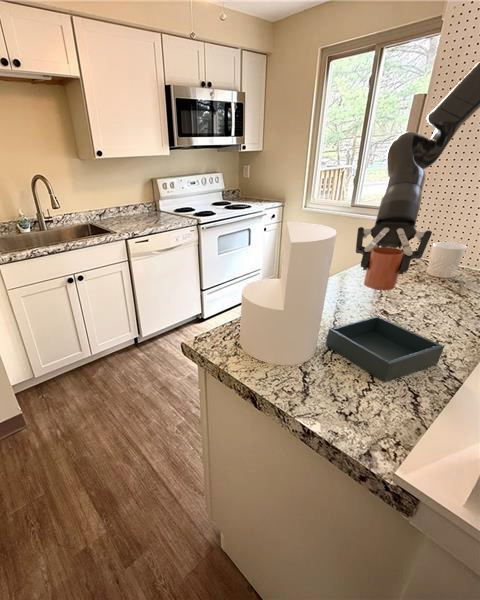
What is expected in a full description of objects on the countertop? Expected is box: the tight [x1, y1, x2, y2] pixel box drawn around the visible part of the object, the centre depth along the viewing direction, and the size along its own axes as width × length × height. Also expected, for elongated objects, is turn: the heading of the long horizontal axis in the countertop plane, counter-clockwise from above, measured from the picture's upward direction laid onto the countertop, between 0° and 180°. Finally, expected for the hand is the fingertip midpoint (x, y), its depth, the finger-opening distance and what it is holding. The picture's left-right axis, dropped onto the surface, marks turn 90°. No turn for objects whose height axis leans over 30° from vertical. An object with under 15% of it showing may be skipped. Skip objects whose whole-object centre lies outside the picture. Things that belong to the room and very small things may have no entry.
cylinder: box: [239, 221, 338, 366], centre depth 70 cm, size 17×17×28 cm
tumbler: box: [363, 246, 405, 291], centre depth 72 cm, size 6×6×8 cm
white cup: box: [426, 241, 468, 279], centre depth 101 cm, size 8×8×10 cm
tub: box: [325, 315, 445, 383], centre depth 68 cm, size 14×14×5 cm
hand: (382, 270), depth 71 cm, fingers closed on tumbler, 6 cm apart
